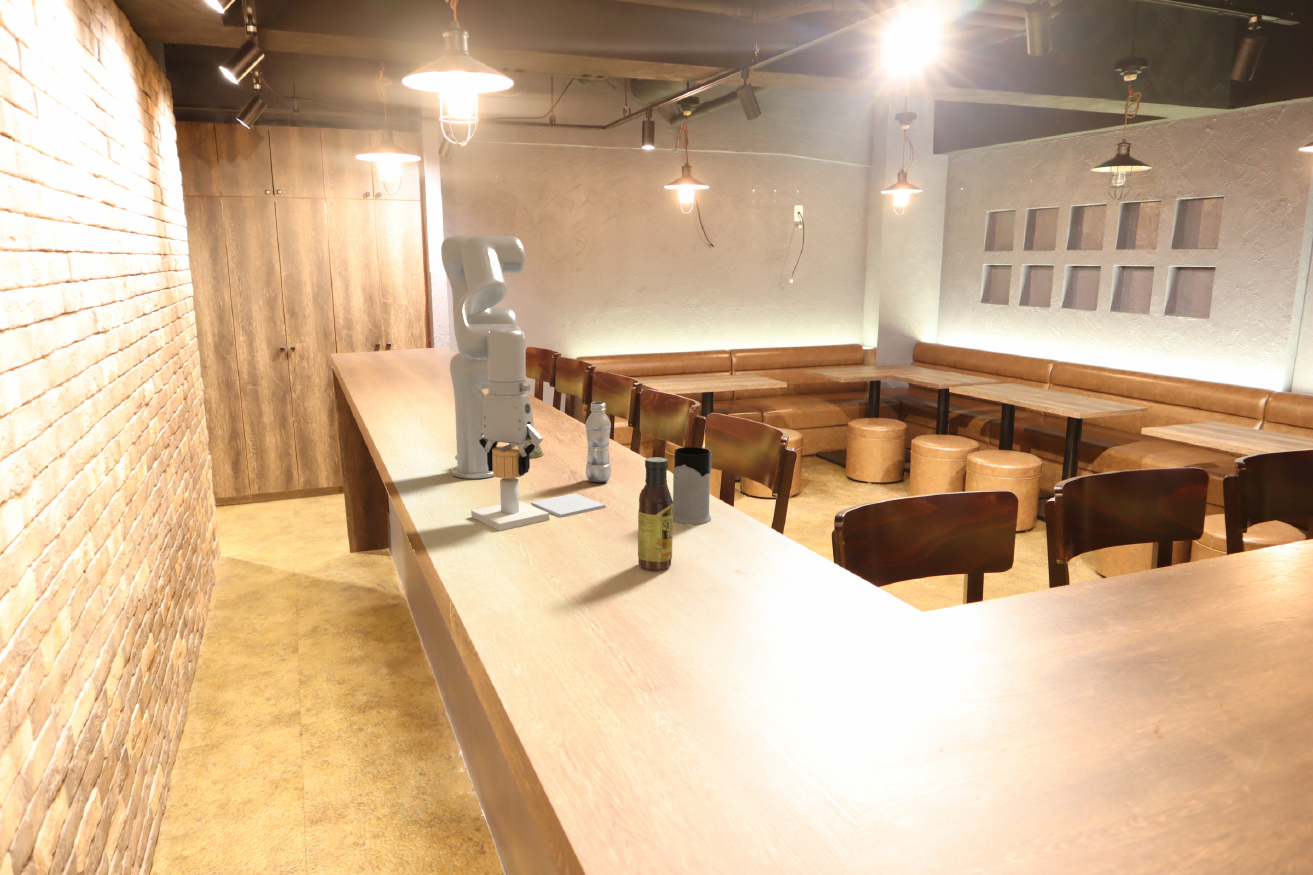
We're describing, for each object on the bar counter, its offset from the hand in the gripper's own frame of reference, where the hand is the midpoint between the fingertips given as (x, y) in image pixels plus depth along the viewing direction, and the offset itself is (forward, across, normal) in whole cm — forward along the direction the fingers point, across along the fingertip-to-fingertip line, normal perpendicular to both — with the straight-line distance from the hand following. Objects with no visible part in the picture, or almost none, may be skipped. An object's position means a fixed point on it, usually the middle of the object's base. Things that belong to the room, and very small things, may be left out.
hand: (508, 470), depth 176 cm
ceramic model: (+12, +26, -56) cm, 63 cm away
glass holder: (+10, -37, -17) cm, 42 cm away
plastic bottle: (+11, -6, -35) cm, 37 cm away
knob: (+1, 0, 0) cm, 1 cm away
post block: (+10, 0, 0) cm, 10 cm away
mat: (+10, -8, -12) cm, 18 cm away
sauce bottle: (+10, -39, +16) cm, 43 cm away
